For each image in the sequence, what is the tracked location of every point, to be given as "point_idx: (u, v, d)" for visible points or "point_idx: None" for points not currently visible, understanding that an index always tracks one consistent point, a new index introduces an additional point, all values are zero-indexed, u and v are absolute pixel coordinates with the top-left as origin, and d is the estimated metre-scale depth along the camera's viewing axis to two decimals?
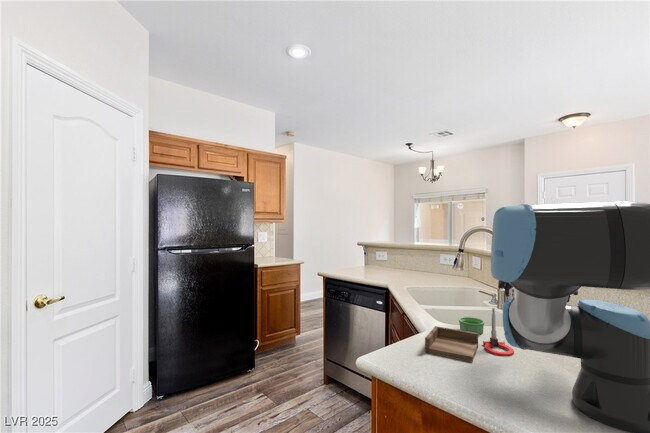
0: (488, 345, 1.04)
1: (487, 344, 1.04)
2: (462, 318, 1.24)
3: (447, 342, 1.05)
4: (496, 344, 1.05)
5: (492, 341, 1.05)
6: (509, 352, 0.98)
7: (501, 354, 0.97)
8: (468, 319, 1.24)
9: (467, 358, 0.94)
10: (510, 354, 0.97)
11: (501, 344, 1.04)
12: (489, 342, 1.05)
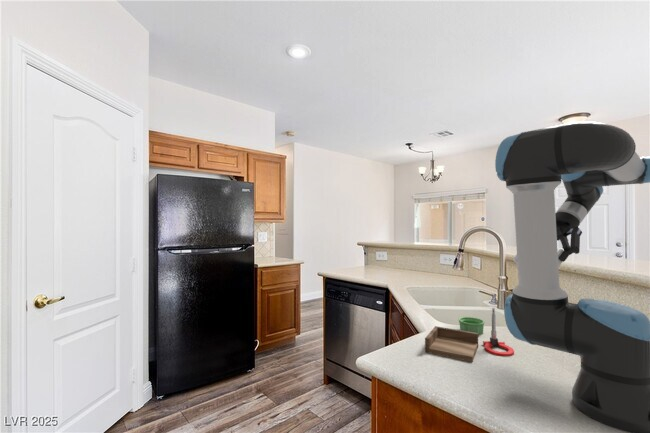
0: (488, 345, 1.04)
1: (487, 344, 1.04)
2: (462, 318, 1.24)
3: (447, 342, 1.05)
4: (496, 344, 1.05)
5: (492, 341, 1.05)
6: (509, 352, 0.98)
7: (501, 354, 0.97)
8: (468, 319, 1.24)
9: (467, 358, 0.94)
10: (510, 354, 0.97)
11: (501, 344, 1.04)
12: (489, 342, 1.05)
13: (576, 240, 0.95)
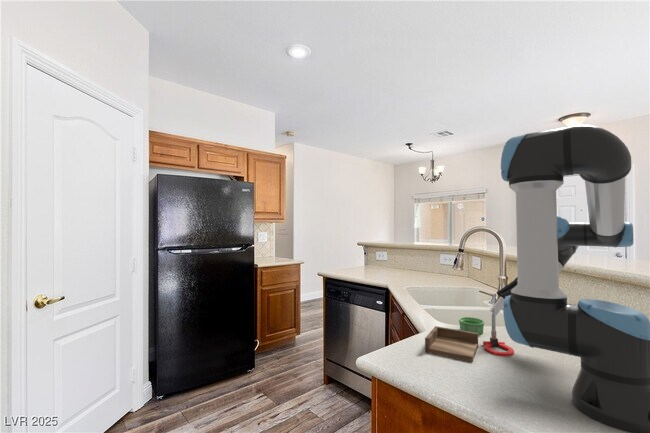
0: (488, 345, 1.04)
1: (487, 344, 1.04)
2: (462, 318, 1.24)
3: (447, 342, 1.05)
4: (496, 344, 1.05)
5: (492, 341, 1.05)
6: (509, 352, 0.98)
7: (501, 354, 0.97)
8: (468, 319, 1.24)
9: (467, 358, 0.94)
10: (510, 354, 0.97)
11: (501, 344, 1.04)
12: (489, 342, 1.05)
13: None
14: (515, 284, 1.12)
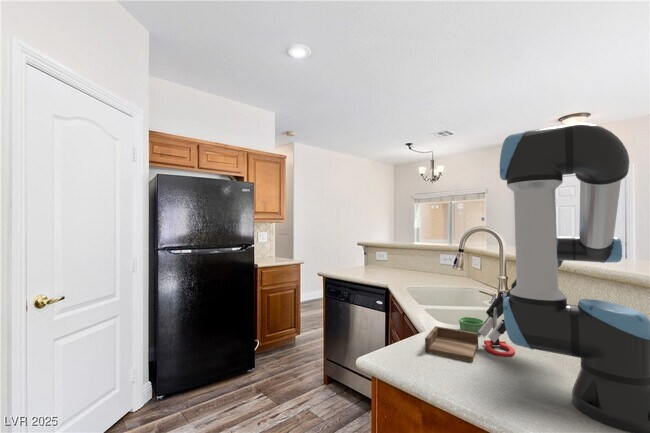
0: (489, 344, 1.03)
1: (488, 343, 1.04)
2: (462, 318, 1.24)
3: (447, 342, 1.05)
4: (497, 343, 1.04)
5: None
6: (510, 352, 0.98)
7: (502, 354, 0.97)
8: (468, 319, 1.24)
9: (467, 358, 0.94)
10: (511, 354, 0.97)
11: (502, 343, 1.04)
12: (490, 341, 1.05)
13: None
14: (500, 299, 1.09)
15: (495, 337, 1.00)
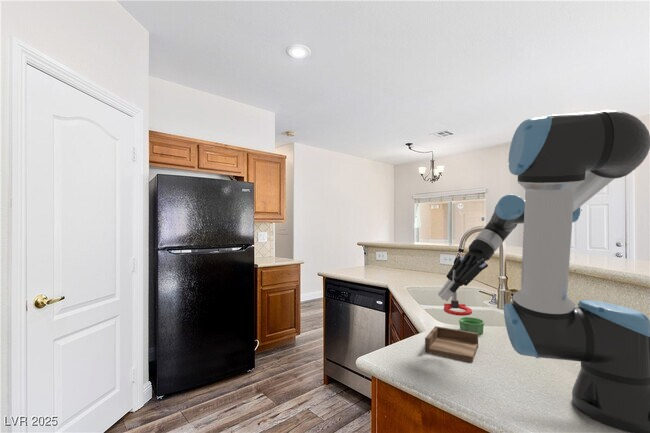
0: (448, 306, 1.02)
1: (447, 306, 1.03)
2: (462, 318, 1.24)
3: (447, 342, 1.05)
4: (456, 306, 1.03)
5: (452, 303, 1.03)
6: (466, 312, 0.96)
7: (457, 313, 0.96)
8: (468, 319, 1.24)
9: (467, 358, 0.94)
10: (467, 313, 0.96)
11: (461, 306, 1.02)
12: (450, 304, 1.04)
13: (471, 274, 0.99)
14: (459, 263, 1.09)
15: (448, 296, 1.01)
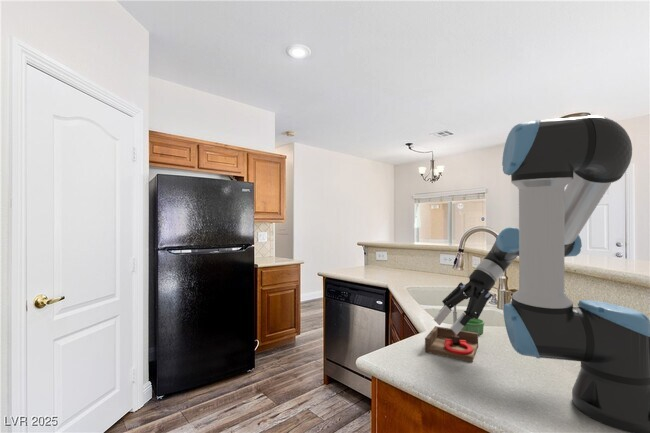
0: (448, 343, 1.01)
1: (448, 342, 1.02)
2: None
3: None
4: (457, 342, 1.02)
5: (453, 339, 1.03)
6: (467, 350, 0.96)
7: (458, 352, 0.95)
8: None
9: (467, 358, 0.94)
10: (468, 352, 0.95)
11: (462, 342, 1.02)
12: (450, 340, 1.03)
13: (479, 305, 0.97)
14: (459, 290, 1.10)
15: (458, 329, 0.97)
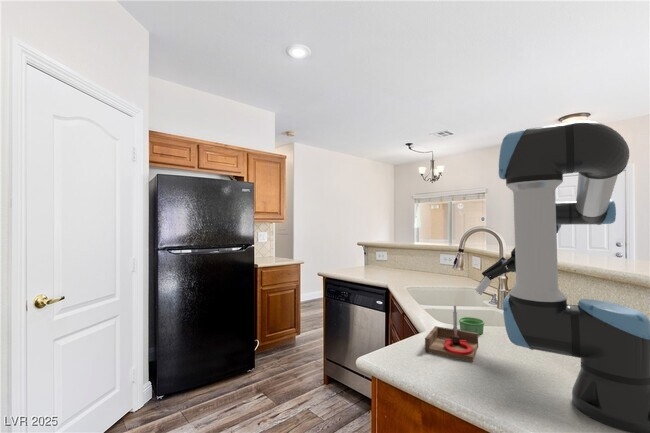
0: (448, 343, 1.01)
1: (448, 342, 1.02)
2: (462, 318, 1.23)
3: None
4: (457, 342, 1.02)
5: (453, 339, 1.03)
6: (467, 350, 0.96)
7: (458, 352, 0.95)
8: (468, 319, 1.24)
9: (467, 358, 0.94)
10: (468, 352, 0.95)
11: (462, 342, 1.02)
12: (450, 340, 1.03)
13: None
14: (500, 264, 1.14)
15: None
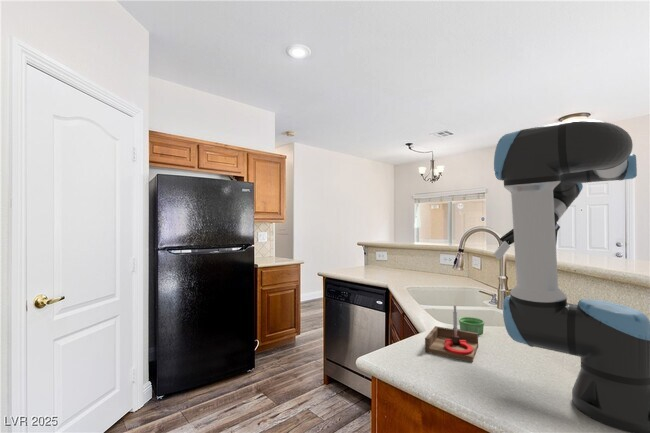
0: (448, 343, 1.01)
1: (448, 342, 1.02)
2: (462, 318, 1.23)
3: None
4: (457, 342, 1.02)
5: (453, 339, 1.03)
6: (467, 350, 0.96)
7: (458, 352, 0.95)
8: (468, 319, 1.24)
9: (467, 358, 0.94)
10: (468, 352, 0.95)
11: (462, 342, 1.02)
12: (450, 340, 1.03)
13: None
14: None
15: None
